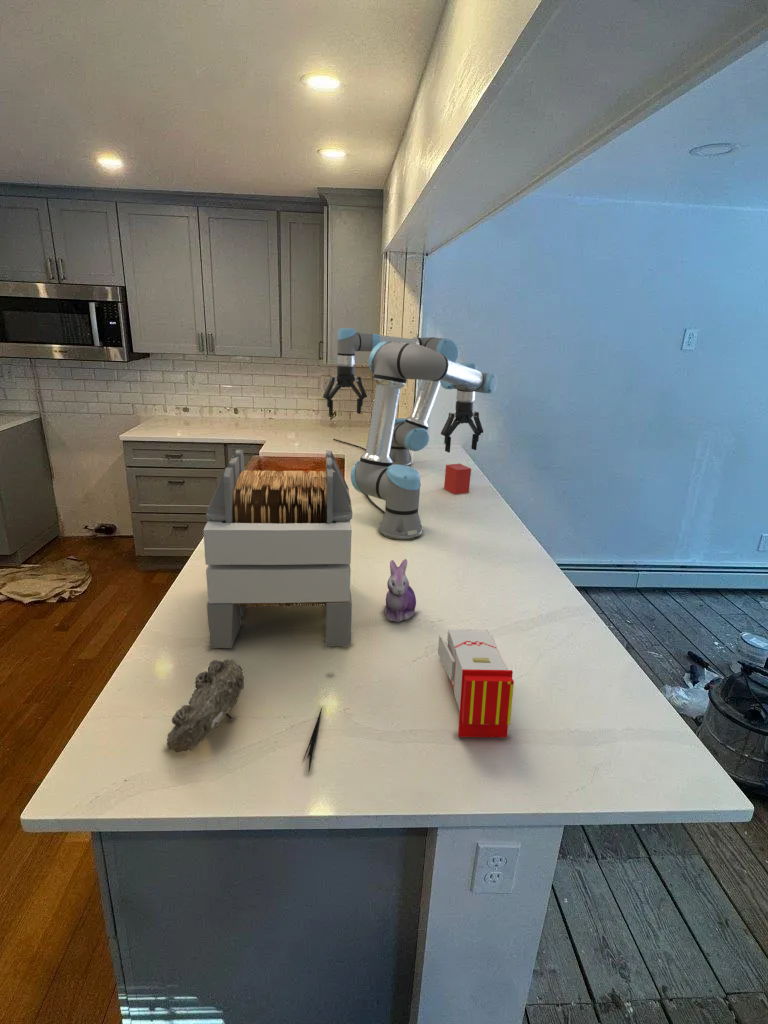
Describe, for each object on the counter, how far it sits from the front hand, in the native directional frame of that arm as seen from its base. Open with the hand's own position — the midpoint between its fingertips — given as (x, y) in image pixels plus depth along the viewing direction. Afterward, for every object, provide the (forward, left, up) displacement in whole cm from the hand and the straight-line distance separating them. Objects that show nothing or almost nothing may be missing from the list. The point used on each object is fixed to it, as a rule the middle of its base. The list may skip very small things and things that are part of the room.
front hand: (460, 450), depth 244 cm
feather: (+85, -132, -18) cm, 158 cm away
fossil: (+72, -147, -18) cm, 165 cm away
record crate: (+46, -116, -18) cm, 126 cm away
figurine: (+64, -92, -18) cm, 114 cm away
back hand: (-45, -29, +11) cm, 54 cm away
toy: (+97, -102, -18) cm, 142 cm away
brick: (-1, 0, -18) cm, 18 cm away
